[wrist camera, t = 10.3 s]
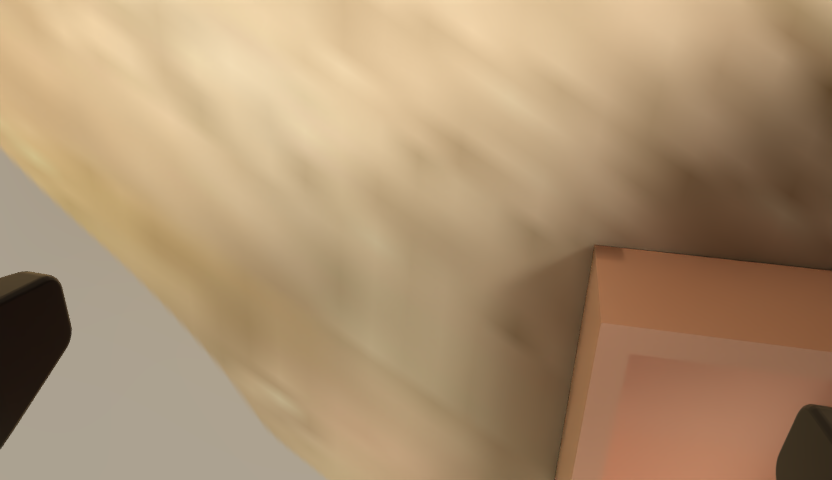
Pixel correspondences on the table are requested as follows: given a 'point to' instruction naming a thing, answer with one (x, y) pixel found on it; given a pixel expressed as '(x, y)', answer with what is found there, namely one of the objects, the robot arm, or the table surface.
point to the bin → (693, 366)
